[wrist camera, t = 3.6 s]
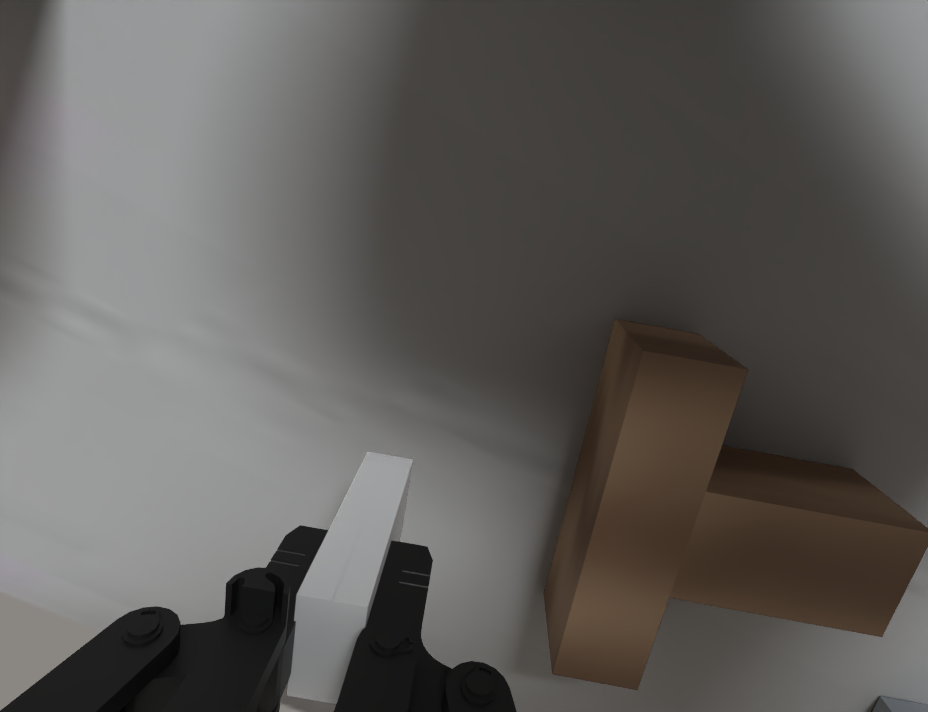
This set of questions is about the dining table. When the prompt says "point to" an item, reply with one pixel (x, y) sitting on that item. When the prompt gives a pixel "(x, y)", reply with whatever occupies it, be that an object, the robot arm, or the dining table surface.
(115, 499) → the dining table surface
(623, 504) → the t block
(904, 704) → the push bay
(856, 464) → the dining table surface
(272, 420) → the dining table surface
